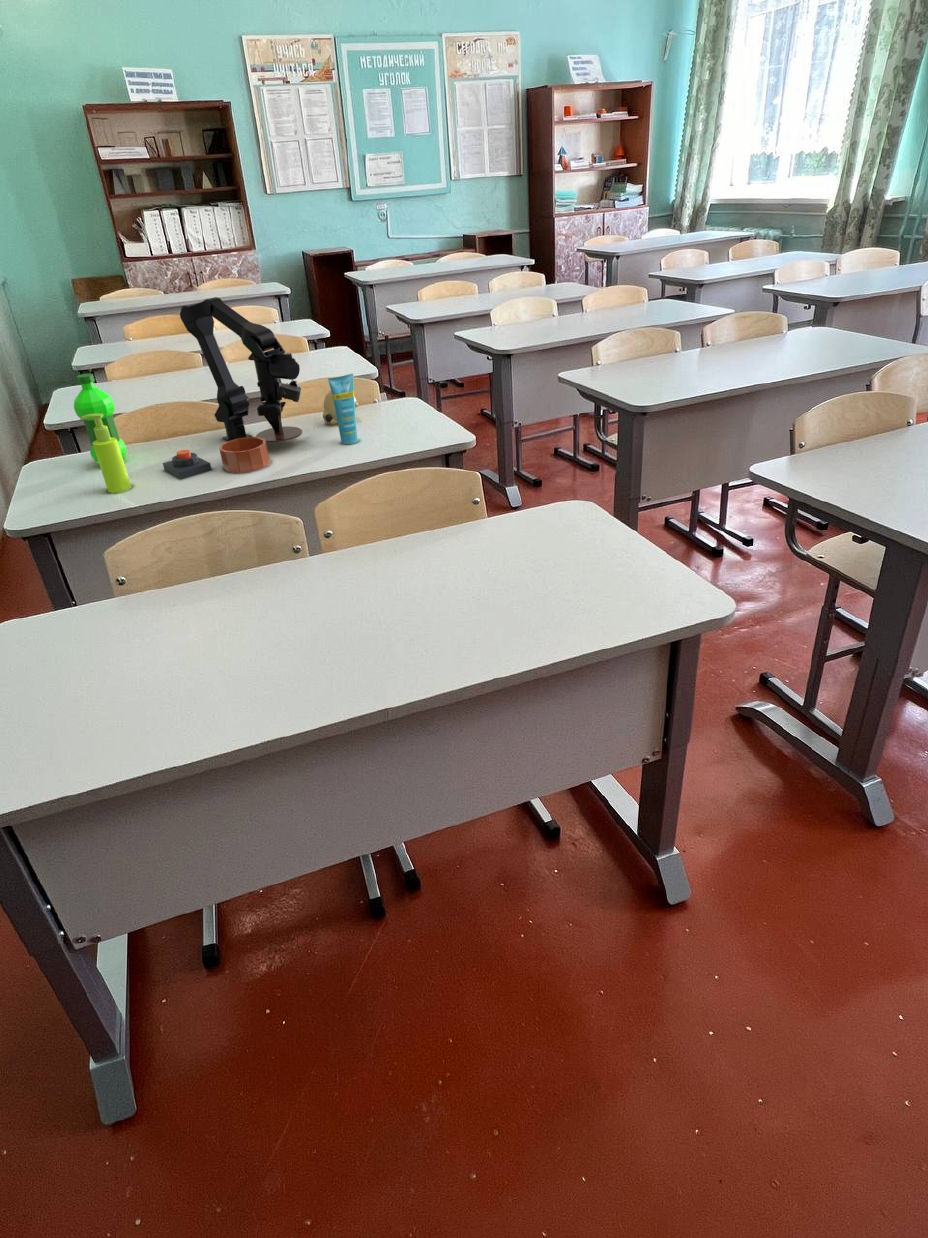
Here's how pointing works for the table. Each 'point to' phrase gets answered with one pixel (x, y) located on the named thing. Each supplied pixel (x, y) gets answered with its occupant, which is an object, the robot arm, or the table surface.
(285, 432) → the lid
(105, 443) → the soap dispenser
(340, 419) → the tube
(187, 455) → the button
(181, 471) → the box
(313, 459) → the table surface
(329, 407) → the toy pig
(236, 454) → the round brown pot
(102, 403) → the plastic bottle
